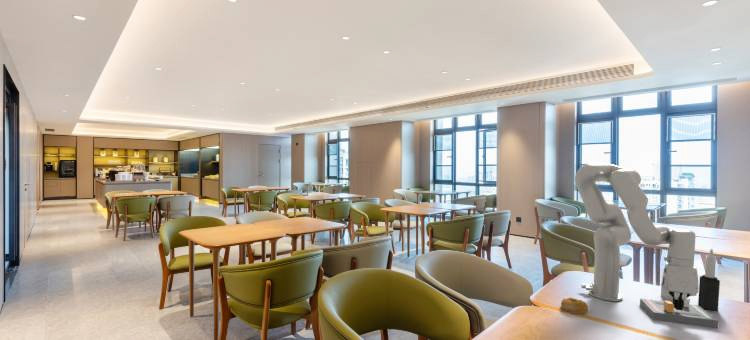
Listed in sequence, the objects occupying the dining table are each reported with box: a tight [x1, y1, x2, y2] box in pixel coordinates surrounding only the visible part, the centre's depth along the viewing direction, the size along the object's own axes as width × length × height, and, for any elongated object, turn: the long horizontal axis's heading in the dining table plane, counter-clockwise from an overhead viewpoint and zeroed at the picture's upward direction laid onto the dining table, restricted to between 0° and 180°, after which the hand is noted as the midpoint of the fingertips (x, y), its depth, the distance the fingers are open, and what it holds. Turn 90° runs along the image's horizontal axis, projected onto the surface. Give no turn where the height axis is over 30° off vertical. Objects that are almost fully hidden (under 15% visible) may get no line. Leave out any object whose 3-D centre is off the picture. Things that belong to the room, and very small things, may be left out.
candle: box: [697, 248, 721, 313], centre depth 151 cm, size 5×5×25 cm
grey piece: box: [660, 282, 679, 302], centre depth 161 cm, size 4×7×10 cm, turn 4°
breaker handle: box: [664, 300, 674, 313], centre depth 141 cm, size 2×3×3 cm, turn 162°
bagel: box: [560, 297, 589, 315], centre depth 149 cm, size 10×11×5 cm
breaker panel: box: [639, 297, 719, 330], centre depth 144 cm, size 20×14×7 cm
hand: (677, 308), depth 141 cm, fingers closed
